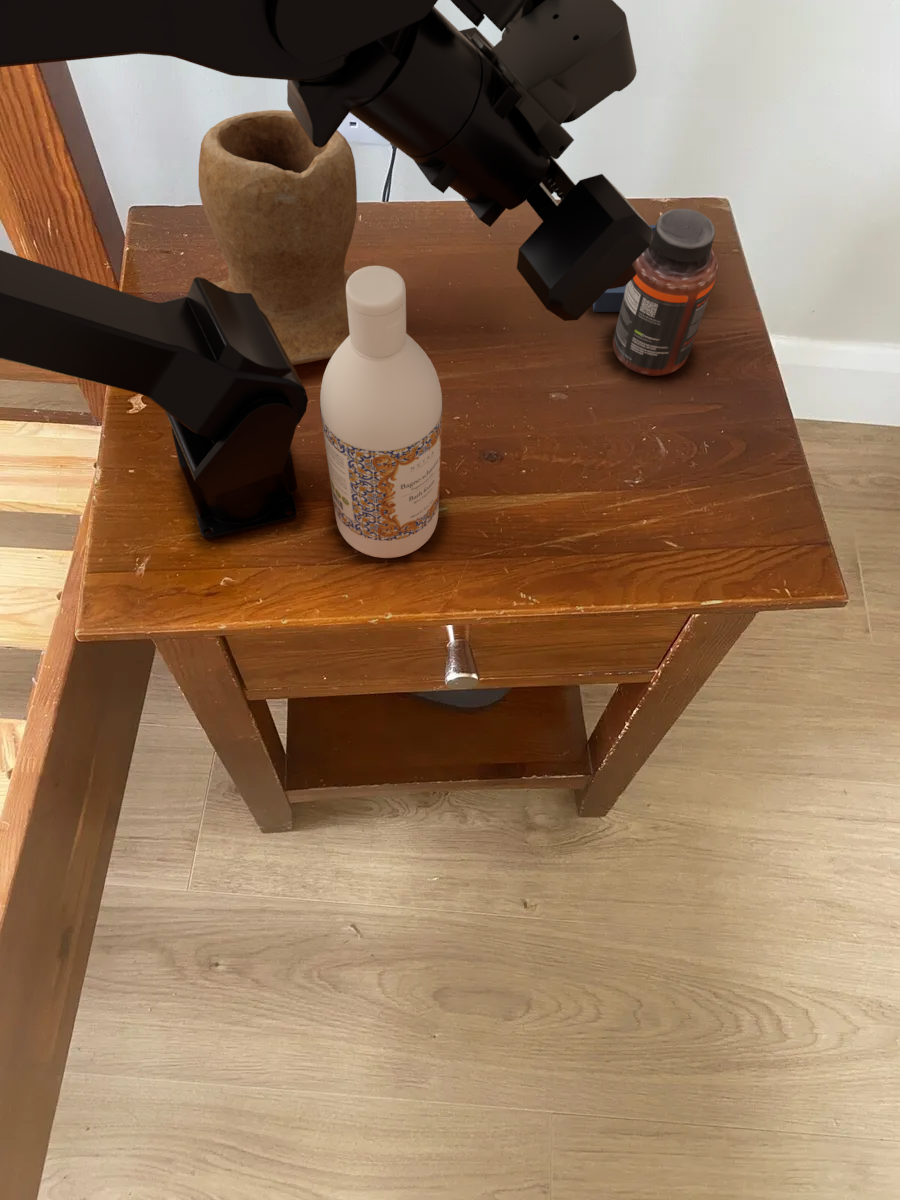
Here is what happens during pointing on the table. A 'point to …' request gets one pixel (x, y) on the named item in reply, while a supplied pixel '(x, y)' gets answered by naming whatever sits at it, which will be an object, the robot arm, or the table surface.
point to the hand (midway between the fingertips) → (591, 231)
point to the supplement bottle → (667, 294)
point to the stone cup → (283, 224)
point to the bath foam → (382, 423)
